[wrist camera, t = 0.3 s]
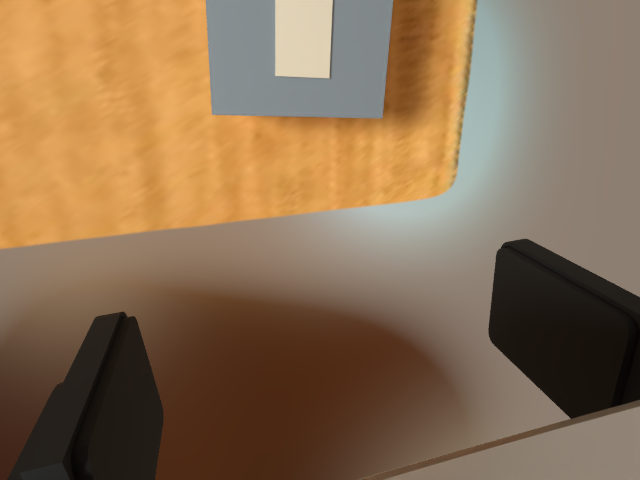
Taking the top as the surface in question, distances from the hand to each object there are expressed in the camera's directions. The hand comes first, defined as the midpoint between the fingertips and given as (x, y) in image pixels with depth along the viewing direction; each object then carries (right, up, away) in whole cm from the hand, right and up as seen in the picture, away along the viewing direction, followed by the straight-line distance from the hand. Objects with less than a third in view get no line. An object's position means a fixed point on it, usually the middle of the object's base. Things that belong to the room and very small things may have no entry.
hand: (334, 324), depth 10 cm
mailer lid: (-2, +19, +19) cm, 27 cm away
